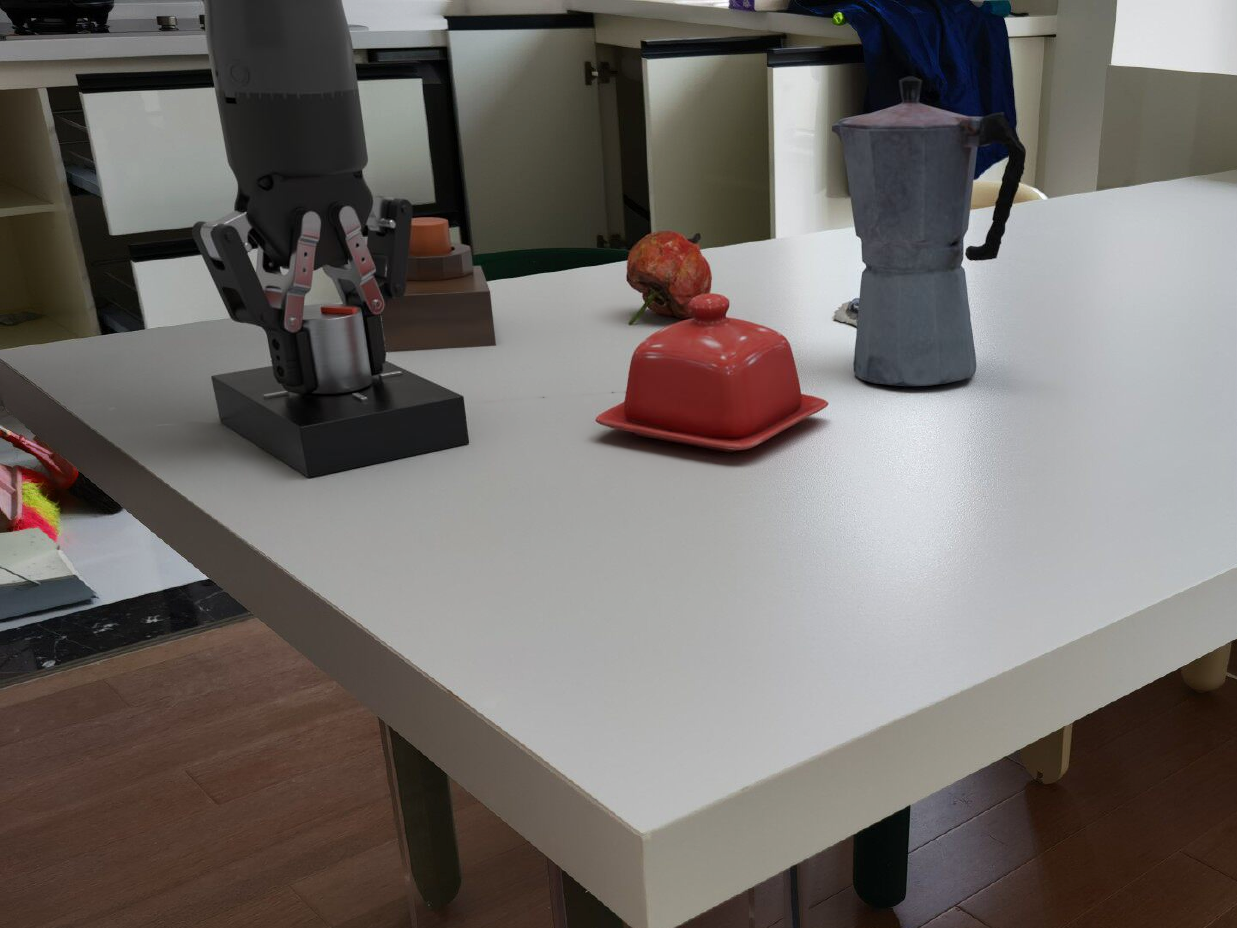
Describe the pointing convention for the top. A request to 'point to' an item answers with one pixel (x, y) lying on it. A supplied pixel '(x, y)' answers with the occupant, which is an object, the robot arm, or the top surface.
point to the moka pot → (919, 234)
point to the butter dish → (712, 383)
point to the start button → (429, 236)
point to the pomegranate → (668, 273)
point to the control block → (440, 305)
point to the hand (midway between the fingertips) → (333, 381)
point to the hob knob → (337, 347)
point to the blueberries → (848, 312)
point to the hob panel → (342, 419)
